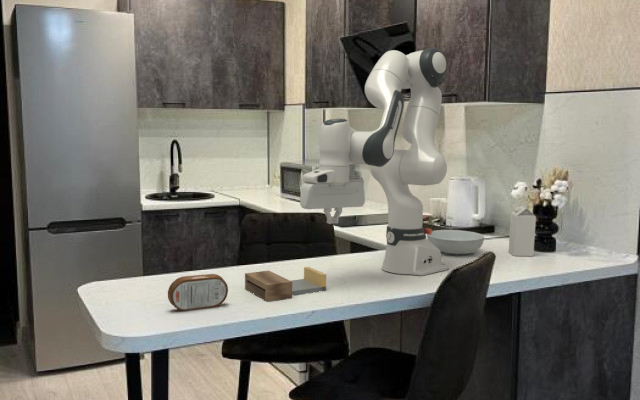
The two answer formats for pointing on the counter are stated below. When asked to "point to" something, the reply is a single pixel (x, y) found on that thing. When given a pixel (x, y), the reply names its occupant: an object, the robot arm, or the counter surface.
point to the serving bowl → (456, 241)
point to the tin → (197, 292)
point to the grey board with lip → (309, 282)
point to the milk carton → (522, 232)
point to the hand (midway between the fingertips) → (332, 223)
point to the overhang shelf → (268, 285)
